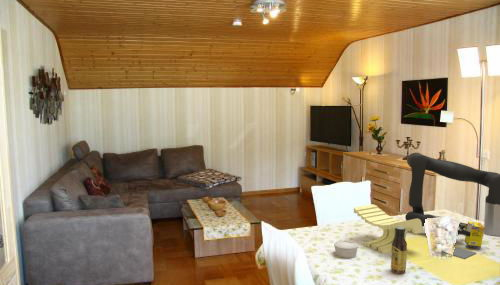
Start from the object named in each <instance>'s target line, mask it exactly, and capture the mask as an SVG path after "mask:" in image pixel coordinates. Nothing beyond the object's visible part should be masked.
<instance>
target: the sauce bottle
mask: <svg viewBox="0 0 500 285" xmlns="http://www.w3.org/2000/svg"><path fill="white" fill-rule="evenodd" d="M395 231H396V232H395V238H394V241H393V243H392V251H391V252H390V254H391V255H390V257H391V258H390V270H391V271H392V272H393V273H394V274H405V273H406V270H407V256H408V255H407V253H408V247H407V246H408V242H407V240H405V239H404V238H405V236H404V235H405V227H402V226H396V227H395Z"/></svg>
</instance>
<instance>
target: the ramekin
mask: <svg viewBox="0 0 500 285" xmlns="http://www.w3.org/2000/svg"><path fill="white" fill-rule="evenodd" d="M333 246H334V251H335V252H334V253H335V254H336V255H337V256H338V257H340V258H343V259H351V258H355V256H357V251H358V248H359V244H358V243H356V242H354V241H353V240H352V241H351V240H337V241H335V242H334V244H333Z"/></svg>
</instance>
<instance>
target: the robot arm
mask: <svg viewBox="0 0 500 285" xmlns="http://www.w3.org/2000/svg"><path fill="white" fill-rule="evenodd" d="M406 163H407V165H408V166H409V168H410V169H411V182H410V186H409V190H408V205H409V206H410V207H411V208H412V209H411V210H412V211H409V212H407V213H406V214H405V216H404V217H405V221H407V220H412V219H417V218H418V219H420V220H421V222H422V227H425V226H424V223H425V219H427V218H436V217H441V216H439V215H434V214H430V213H429V214H427V213H426V214H425V212H424V211H425V210H424V207H423V193H424V192H423V190H424V180H425V179H424V178H425V173H426V171H428V172H432V173H435V174H437V175H439V176H441V177H444V178H447V179H451V180H455V181H458V182H459V181H460V182H466V183H467V182H468V183H475V184H478V185H481V186H484V187H486V188H487V189H488V191H487V192H488V193H487V195H486V196H485V200H484V218H483V219H484V220H483V221H484V222H483V223H484V224H483V226H484V227H485V229H484V234H485V235H488V236H493V237H500V173H498V172H492V171H486V170H480V169H476V168H474V167H471V166H469V165H465V164H463V163H458V162H454V161H450V160H445V159H438V158H434V157H429V156H427V155H424V154H422V153H420V152H413V153H410V154H409V155H408V156H407V157H406ZM467 225H468V223H465V222H459V230H458V235H457V236H459V235H460V236H462V235H463V236H464V237H465V236H470V232H469V231H466V230H467Z"/></svg>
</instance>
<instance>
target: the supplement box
mask: <svg viewBox="0 0 500 285" xmlns="http://www.w3.org/2000/svg"><path fill="white" fill-rule="evenodd" d="M467 224H468V225H467V230H466V231H469V232H470V236H465V235H464V242H465V244H466V246H467V247H469V248H470V247H471V248H479V249H480V248H482V243H483V237H484V234H485V233H484V229H485V227H484V224H482V223H481V222H474V221H467Z"/></svg>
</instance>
